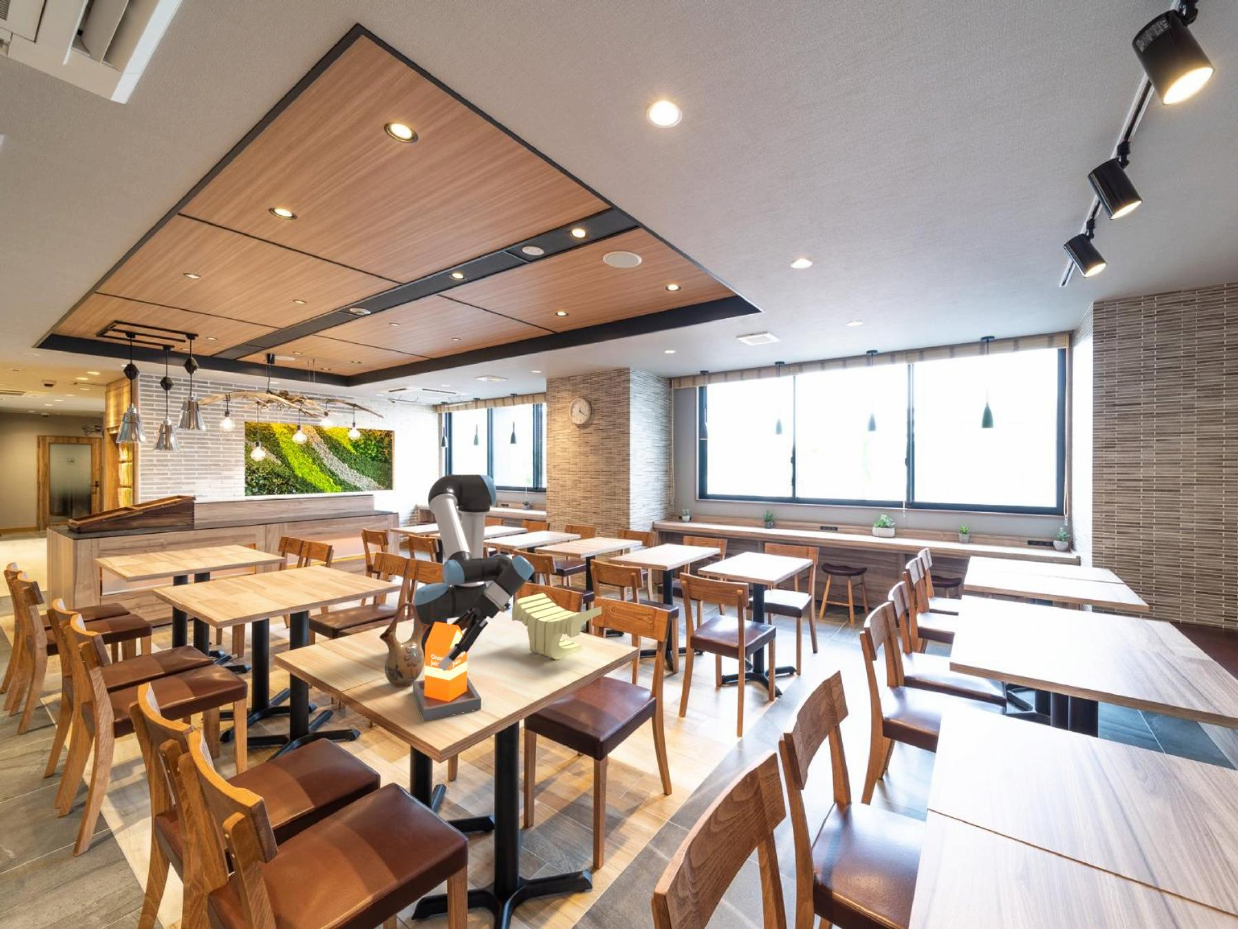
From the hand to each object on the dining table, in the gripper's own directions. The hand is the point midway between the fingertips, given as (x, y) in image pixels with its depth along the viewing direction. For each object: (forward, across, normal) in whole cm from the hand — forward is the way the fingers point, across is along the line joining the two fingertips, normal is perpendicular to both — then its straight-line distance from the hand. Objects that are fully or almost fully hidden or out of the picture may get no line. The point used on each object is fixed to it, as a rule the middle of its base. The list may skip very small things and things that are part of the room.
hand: (436, 661), depth 144 cm
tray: (+6, 0, -10) cm, 12 cm away
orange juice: (+5, 0, -9) cm, 10 cm away
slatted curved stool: (-24, +22, -41) cm, 52 cm away
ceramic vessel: (+13, +17, -4) cm, 22 cm away
